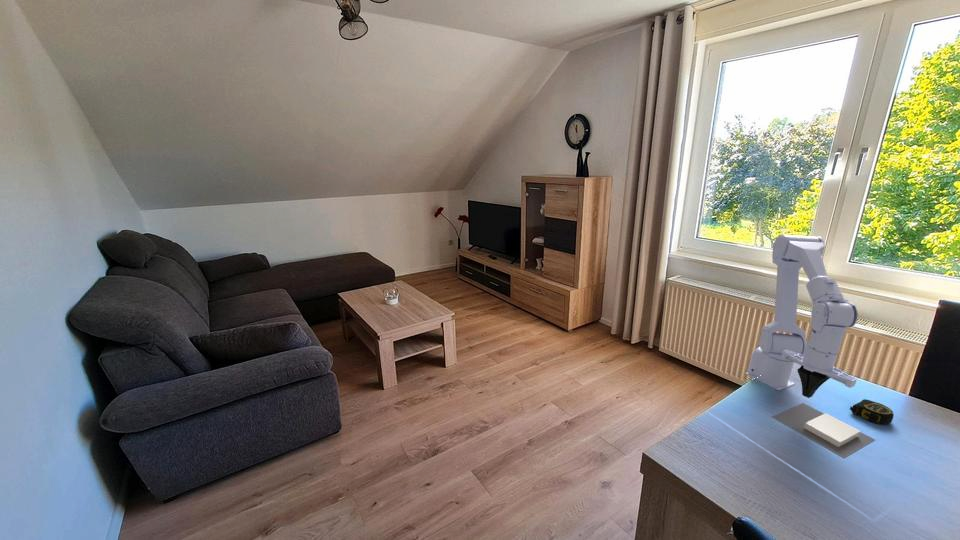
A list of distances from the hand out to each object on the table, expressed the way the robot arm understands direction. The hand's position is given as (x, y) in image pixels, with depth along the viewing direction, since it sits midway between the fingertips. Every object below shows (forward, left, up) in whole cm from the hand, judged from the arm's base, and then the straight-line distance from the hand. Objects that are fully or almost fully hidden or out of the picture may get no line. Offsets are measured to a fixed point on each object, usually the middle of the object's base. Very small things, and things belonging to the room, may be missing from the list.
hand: (807, 395), depth 95 cm
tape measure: (+7, +17, -7) cm, 19 cm away
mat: (+5, 0, -7) cm, 8 cm away
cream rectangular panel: (+3, 0, -6) cm, 6 cm away
